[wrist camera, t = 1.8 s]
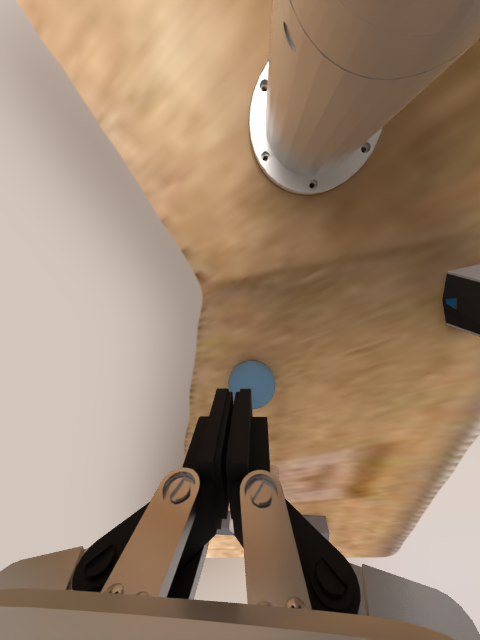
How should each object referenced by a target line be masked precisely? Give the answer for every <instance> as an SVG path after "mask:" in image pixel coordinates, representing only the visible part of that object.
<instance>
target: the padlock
mask: <svg viewBox="0 0 480 640" xmlns="http://www.w3.org/2000/svg"><path fill="white" fill-rule="evenodd" d="M443 306H444V313H445V319H446V325H448V326H451V327H454V328H457V329H460V330H462V331H465V332H468V333H471V334H474V335H476V336H479V337H480V264H477V265H473V266H469V267H464V268H460V269H455V270H451V271H447V277H446V283H445V288H444V294H443Z"/></svg>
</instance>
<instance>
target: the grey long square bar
mask: <svg viewBox="0 0 480 640" xmlns="http://www.w3.org/2000/svg"><path fill="white" fill-rule="evenodd" d="M230 515H231V513H230V512H228V516H227V519H222V525H221V529H217V532H216V534H219V535H234V533H232V532H231V531H230V530H229V525H230ZM302 516H303V517H304V518H305V519H306V520H307V521H308V522H309V523H310V524H311V525H312V526H313V527H315V528H316V529H317V530H318V531H319V532H320V533H321V534H322V535H323V536H324V537H325V538H326V539H327V540H329V530H328V526H327V522H326V518H325V516H306V515H302Z"/></svg>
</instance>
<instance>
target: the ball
mask: <svg viewBox="0 0 480 640" xmlns="http://www.w3.org/2000/svg"><path fill="white" fill-rule="evenodd" d="M240 389H251V397H252V409H257V408H260V407H263V406H264V405H266V404H267V403H268V402H269V401H270V400H271V398H272V397H273V394H274V391H275V379H274V376H273V374H272V372H271V370H270V369H269V368H268V367H267V366H266V365H265V364H263V363H261V362H258V361H253V360H250V361H245V362H242V363H240V364H239V365H237V366H236V367H235V368H234V370H233V371H232V373H231V375H230V378H229V391H230V392H233V399H234V400H235V393H236V392H240Z"/></svg>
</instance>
